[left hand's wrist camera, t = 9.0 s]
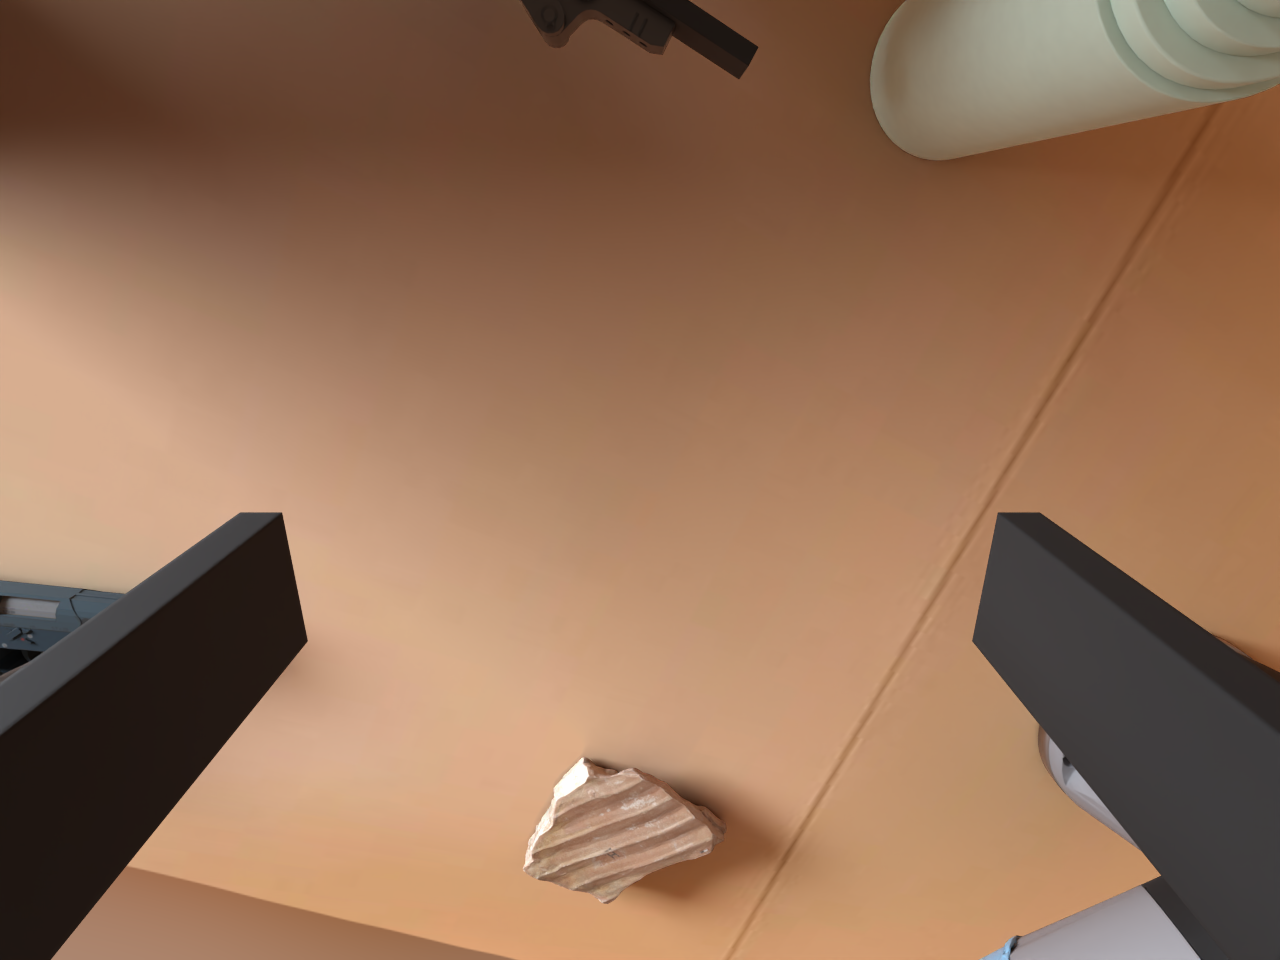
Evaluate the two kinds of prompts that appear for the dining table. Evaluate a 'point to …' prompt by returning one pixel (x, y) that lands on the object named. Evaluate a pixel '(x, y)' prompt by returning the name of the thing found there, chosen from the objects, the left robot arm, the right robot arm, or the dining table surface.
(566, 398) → the dining table surface
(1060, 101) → the bottle
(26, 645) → the handgun
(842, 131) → the dining table surface
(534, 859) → the stone
